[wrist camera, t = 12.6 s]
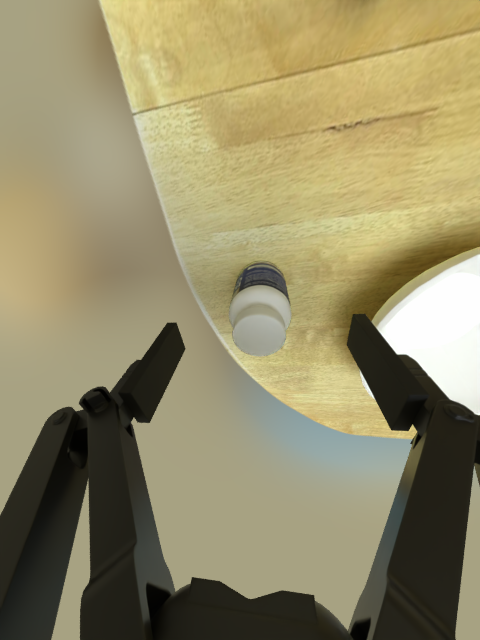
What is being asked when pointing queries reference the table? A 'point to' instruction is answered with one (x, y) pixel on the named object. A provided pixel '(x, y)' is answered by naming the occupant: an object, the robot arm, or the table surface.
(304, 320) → the table surface
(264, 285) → the pill bottle
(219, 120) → the table surface
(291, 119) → the table surface
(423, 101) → the table surface
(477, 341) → the bowl
